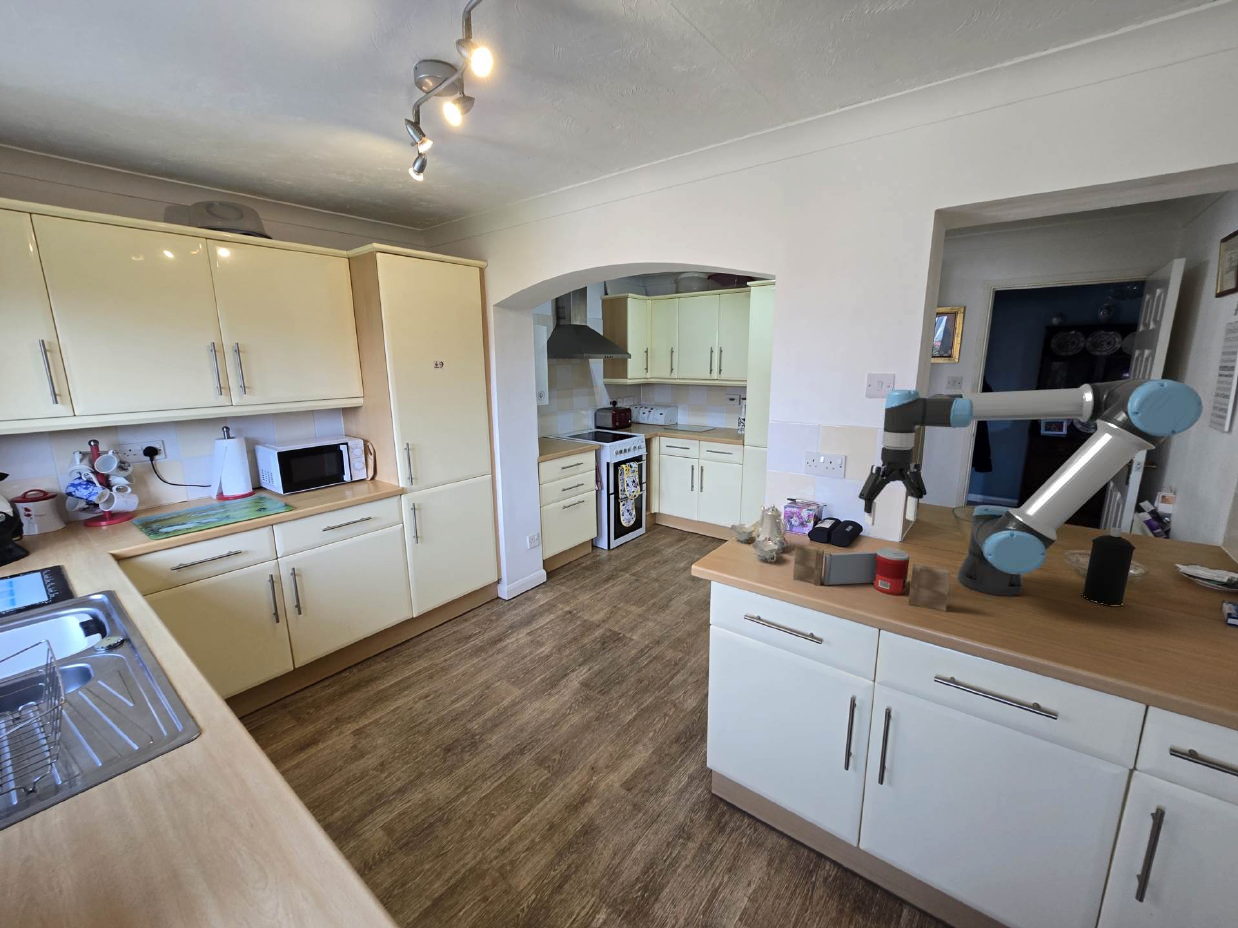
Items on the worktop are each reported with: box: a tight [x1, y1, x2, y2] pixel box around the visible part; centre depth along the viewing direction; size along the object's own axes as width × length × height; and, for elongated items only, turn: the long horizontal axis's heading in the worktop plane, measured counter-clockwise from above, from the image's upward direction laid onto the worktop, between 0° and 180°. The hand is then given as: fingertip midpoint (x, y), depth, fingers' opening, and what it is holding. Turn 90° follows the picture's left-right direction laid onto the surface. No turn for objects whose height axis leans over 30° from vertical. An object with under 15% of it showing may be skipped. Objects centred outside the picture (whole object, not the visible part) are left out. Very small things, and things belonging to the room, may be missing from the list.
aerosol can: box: [1081, 527, 1136, 606], centre depth 131 cm, size 8×8×20 cm
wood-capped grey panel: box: [792, 543, 952, 613], centre depth 137 cm, size 38×3×10 cm, turn 58°
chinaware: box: [730, 503, 788, 563], centre depth 169 cm, size 28×17×17 cm, turn 15°
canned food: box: [873, 547, 910, 596], centre depth 139 cm, size 8×8×11 cm
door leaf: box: [822, 551, 877, 586], centre depth 143 cm, size 21×2×9 cm, turn 95°
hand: (890, 522), depth 139 cm, fingers open, 13 cm apart
